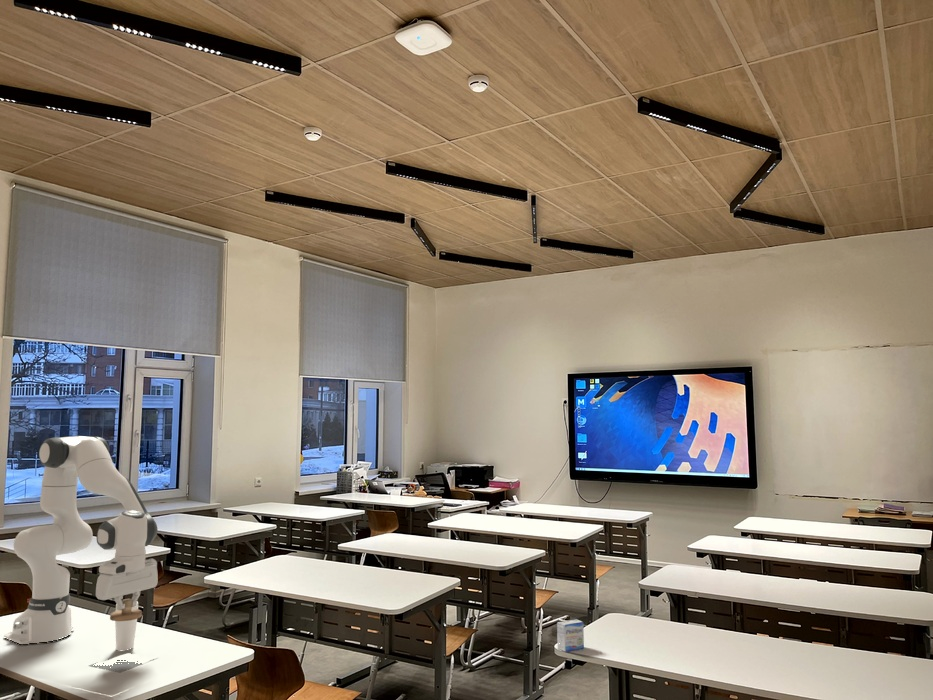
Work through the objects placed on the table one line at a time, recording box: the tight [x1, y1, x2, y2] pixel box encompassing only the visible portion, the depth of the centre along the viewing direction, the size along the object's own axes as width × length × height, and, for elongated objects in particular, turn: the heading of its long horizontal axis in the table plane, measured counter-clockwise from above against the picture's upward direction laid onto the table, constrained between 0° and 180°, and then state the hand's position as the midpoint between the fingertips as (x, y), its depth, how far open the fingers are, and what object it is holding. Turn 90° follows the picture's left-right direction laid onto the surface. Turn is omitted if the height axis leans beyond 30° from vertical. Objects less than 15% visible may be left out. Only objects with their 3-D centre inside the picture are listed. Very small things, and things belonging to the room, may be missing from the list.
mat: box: [88, 660, 143, 673], centre depth 209 cm, size 14×14×1 cm
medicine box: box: [556, 618, 585, 653], centre depth 223 cm, size 8×4×9 cm, turn 117°
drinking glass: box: [114, 600, 139, 651], centre depth 223 cm, size 7×7×15 cm
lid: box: [109, 598, 143, 622], centre depth 211 cm, size 9×9×5 cm
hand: (126, 608), depth 211 cm, fingers closed on lid, 3 cm apart
